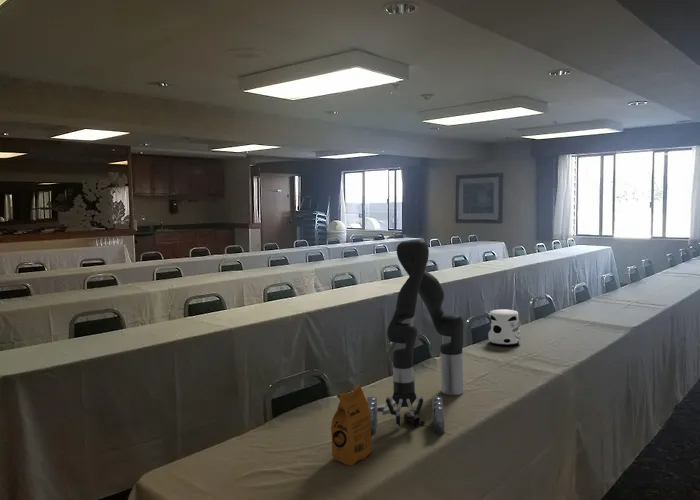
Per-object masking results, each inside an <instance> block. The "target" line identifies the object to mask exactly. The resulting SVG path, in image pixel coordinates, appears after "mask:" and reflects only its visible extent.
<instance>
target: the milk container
mask: <svg viewBox="0 0 700 500" xmlns="http://www.w3.org/2000/svg"><path fill="white" fill-rule="evenodd" d="M519 317H520V316H519V312H518V311H517V310H513V309H506V308H505V309H493V310H490V311H489V329H488V334H487V336H488V340H489V342H490V343H492V344H493V345H497V346H502V347H503V346H512V345H513V346H514V345H517V344H519V343H520V341H521V331H520V327H519Z"/></svg>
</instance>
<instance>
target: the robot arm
mask: <svg viewBox="0 0 700 500" xmlns="http://www.w3.org/2000/svg"><path fill="white" fill-rule="evenodd" d="M396 255H397V259H398V261H399V264H400V265H401V266H402V267H403V269H404V270H405V272H406V273H407V275H408V276H409V277H408V278H407V279H406V281H405V282H404V284H403V285H402V287H401V288H400V290H399V292H398V294H397V300H396V305H395V306H396V307H395V310H394V313H393V316H392V319H391V320H390V323H389V324H388V327H387V331H386V336H387V339H388V341H389V342H390V343H395V344H405V347H403V348H397V349H395V350H394V351H393V353H392V361H393V367H392V368H393V370H392V383H393V394H392V396H386V397H385V402H386V403H385V404H387V405H388V408H389V410H390V412H389V413H390V415H392V416H393V415H394V416H395V424H396V425H398V427H401V413H400V412H401V410H402V409H401V408H408V410H409V411H408V412H410V417H411V425H410V427H414V426H413V425H414V424H415V420H414V416H415V415H417V416H419V415H420V413H421V409H422V406H423V403H424V397H423V396H418V395H417V394H416V389H415V388H416V387H415V370H414V349H415V345H416V341H417V338H418V330H417V326H415V324H413V323H403V321H406V320H410V319H412V318H414V317H415V315H416V308H417V302H418V301H417V300H418V295H419V296H420V298H421V301H422V302H423V303H424V305H425V307H426V309H427V311H428V314H429V315H430V318H431V321H432V325H433V327H434V328H435V331H436V332H437V333H438V335H439V336H443V337H449V338H450V342H445V343H442V344H441V345H440V348H439V349H440V350H439V351H440V353H439V354H440V381H441V382H440V384H441V385H440V386H441V393H442V394H443V395H447V396H459V395H462V394H464V361H463V359H464V358H463V357H464V356H463V347H464V332H465V331H464V327H465V326H464V325H465V324H464V320H463V318H462V316H461V315H458V314H457V315H456V314H447V313H445V312H444V310H443V309H442V304H443V302H444V300H445V292H444V289H443V287H442V285H441V283H440V282H439V279H438V278H436V277H435V276H434V275H433V274H432V273H430V272H429V271H428V270H426V267H427V265H428V261H429V257H430V256H429V255H430V249H429V246H428V243H427V242H426V241H425V240H422V239H421V240H420V239H418V240H416V239H415V240H407V241H406V240H405V241H401V242H400V243H399V244H398V245H397V246H396ZM392 400H394V401H395V402H396V403H397V405H396V409H394V406H392ZM415 401H416V403H417V405H416V408H415V410H414V407H413V404H414V402H415Z"/></svg>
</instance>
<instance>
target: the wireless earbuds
mask: <svg viewBox="0 0 700 500" xmlns="http://www.w3.org/2000/svg"><path fill="white" fill-rule="evenodd" d="M420 418H421V416H419V415H415V416H414V420H415V424H414V425H413V426H412V427H415V428H416V427H419V426H420V425H426V423H427V422H426V421H424V420H423V419H420ZM403 422H404V423H405V424H408V425H410V426H411V417H410V411H407V412H404V413H403Z"/></svg>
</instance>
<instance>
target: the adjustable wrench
mask: <svg viewBox="0 0 700 500" xmlns="http://www.w3.org/2000/svg"><path fill="white" fill-rule="evenodd" d="M392 406H393V407H395V406H397V403H396V402H395V401H394V400H392ZM379 411H383V414H388V413H390V410H389V408H388V405H387V403H382V404H380V405H379V404H377V413H378V412H379Z"/></svg>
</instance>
